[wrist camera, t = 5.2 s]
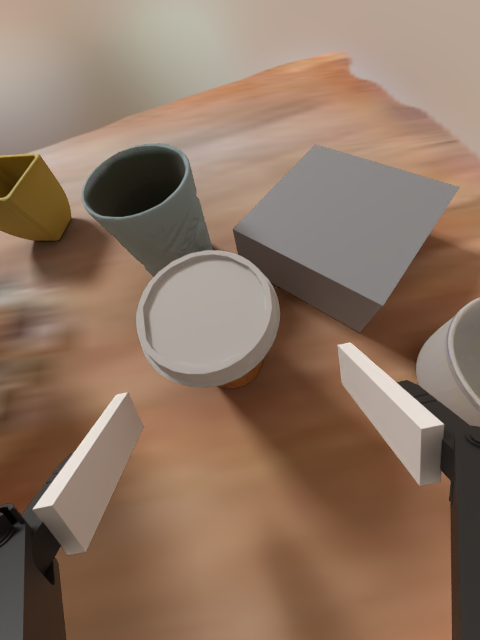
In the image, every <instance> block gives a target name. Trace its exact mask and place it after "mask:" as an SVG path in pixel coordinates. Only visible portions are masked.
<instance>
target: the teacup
mask: <svg viewBox="0 0 480 640" xmlns="http://www.w3.org/2000/svg"><path fill="white" fill-rule="evenodd" d="M416 376H417V381H418V385H419V386H421V387H422V388H423V389H424V390H426V391H427V392H428V393H429V394H430V395H432V396H433V397H435V398H436V399H437V401H440V402H441V403H442V404H443V405H445V406H446V407H447V408H449V409H450V410H451V411H452V412H454V413H455V414H456V415H458V416H459V417H460V418H461V419H463V420H464V421H465V422H466V423H468V424H469V425H471V426H479V427H480V297H479V298H477V299H475V300H473V301H471V302H469V303H468V304H466V305H465V306H464V307H463V308H461V309H460V310H459V311H458V313H457V314H456V315H455V316H454V317H453V318H451V319H450V320H449V321H448V322H446V323H445V324H444V325H443V326H441V327H440V328H439V329H438V330H437V331H436V332H435V333H434V334H433V335H432V336H431V337H429V339H428V340H427V341H426V342H425V344H424V345H423V347H422V348H421V350H420V352H419V355H418V358H417V364H416Z"/></svg>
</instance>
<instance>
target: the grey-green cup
mask: <svg viewBox="0 0 480 640" xmlns="http://www.w3.org/2000/svg"><path fill="white" fill-rule="evenodd" d="M82 202H83V204H84V207H85V209H86V210H87V211H88V213H89V214H90V215H91V216H92V217H93V218H94V219H95V220H96V221H97V222H99V223H100V224H101V225H102V226H103V227H104V228H105V229H106V230H107V231H108V232H109V233H110V234H112V235H113V236H114V237H115V238H116V239H117V240H118V241H119V242H120V244H121V245H122V246H123V247H125V248H126V249H127V250H128V251H129V252H130V253H131V254H132V255H133V256H134V257H135V258H136V259H137V260H138V261H140V262H141V263H142V264H143V265H145V268H146V270H147V271H148V272H149V273H150V274H151V275H152V276H153V277H154V276H155V275H156V274H157V273H158V272H159V271H160V270H162V269H163V268H164V267H166V266H167V265H169V264H170V263H171V262H173V261H174V260H177V259H179V258H181V257H183V256H186V255H188V254H191V253H196V252H201V251H206V250H213V248H212V244H211V241H210V238H209V234H208V231H207V226H206V223H205V221H204V216H203V212H202V208H201V205H200V202H199V199H198V198H197V196H196V187H195V183H194V179H193V175H192V171H191V167H190V163H189V160H188V158H187V157H186V155H185V154H184V153H183V152H182V151H181V150H179V149H178V148H176V147H174V146H171V145H167V144H160V143H158V144H144V145H137V146H134V147H131V148H128V149H126V150H123V151H121V152H119V153H117V154H115V155H113V156H112V157H110V158H108V159H107V160H105V161H104V162H103V163H101V164H100V165H99V166H98V167H97V168H96V169H95V170H94V171H93V172H92V173H91V175H90V176H89V177H88V179H87V181H86V183H85V185H84V187H83V191H82Z"/></svg>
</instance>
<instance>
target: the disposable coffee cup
mask: <svg viewBox="0 0 480 640" xmlns="http://www.w3.org/2000/svg"><path fill="white" fill-rule="evenodd" d="M279 322H280V307H279V301H278V297H277V295H276V292H275V289H274V287H273V286H272V284H271V283H270V281H269V280H268V278H267V277H266V276H265V275H264V274H263V273H262V272H261V271H260V270H259V269H258V268H257V267H256V266H255V265H254V264H253V263H251V262H250V261H249V260H247V259H245V258H244V257H242V256H240V255H237V254H234V253H231V252H226V251H221V250H206V251H201V252H196V253H191V254H188V255H186V256H183V257H181V258H179V259H177V260H174V261H173V262H171V263H170V264H169V265H167V266H166V267H164V268H163V269H162V270H160V271H159V272H158V273H157V274H156V275H155V276H154V278H153V279H152V280H151V281H150V282H149V283H148V285H147V287H146V288H145V290H144V292H143V293H142V296H141V299H140V302H139V305H138V309H137V312H136V327H137V332H138V337H139V339H140V343H141V347H142V350H143V352H144V355H145V357H146V358H147V360H148V361H149V363H150V364H151V365H152V366H153V368H154V369H155V370H156V371H157V372H158V373H160V374H161V375H163V376H164V377H166V378H167V379H169V380H171V381H173V382H176V383H178V384H181V385H184V386H189V387H213V386H222V387H227V388H237V387H241V386H244V385H246V384H248V383H249V382H251V381H252V380H253V379H254V378H255V377H256V376H257V374H258V372H259V371H260V368H261V365H262V362H263V358H264V357H265V355H266V354H267V352H268V351H269V349H270V348H271V346H272V345H273V343H274V340H275V337H276V335H277V331H278V328H279Z"/></svg>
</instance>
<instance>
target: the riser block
mask: <svg viewBox="0 0 480 640" xmlns="http://www.w3.org/2000/svg"><path fill="white" fill-rule="evenodd" d="M458 189H459V187H457V186H454V185H451V184H447V183H444V182H441V181H437V180H434V179H431V178H427V177H424V176H420V175H417V174H414V173H410V172H407V171H404V170H400V169H397V168H394V167H390V166H387V165H383V164H380V163H377V162H373V161H370V160H367V159H363V158H360V157H356V156H353V155H350V154H346V153H343V152H340V151H336V150H333V149H330V148H326V147H323V146H319V145H316V144H315V145H314V146H313V147H312V148H311V149H310V150H309V151H308V152H307V153H306V154H305V155H304V156H303V157H302V158H301V159H300V160H299V162H298V163H297V164H296V165H295V166H294V167H293V168H292V169H291V170H290V171H289V172H288V173H287V174H286V175H285V176H284V177H283V178H282V179H281V180H280V181H279V182H278V183H277V184H276V185H275V186H274V187H273V188H272V189H271V190H270V191H269V192H268V193H267V195H266V196H265V197H264V198H263V199H262V200H261V201H260V202H259V203H258V204H257V205H256V206H255V207H254V208H253V209H252V210H251V211H250V212H249V213H248V214H247V215H246V216H245V217H244V218H243V219H242V220H241V221H240V222H239V223H238V224H237V225H236V226H235V227H234V229H233V232H234V237H235V242H236V246H237V251H238V255H240V256H242V257H244V258H245V259H247V260H249V261H250V262H251V263H253V264H254V265H255V266H256V267H257V268H258V269H259V270H260V271H261V272H262V273H263V274H264V275H265V276H266V277H267V278H268V280H269V281H270V282H271V283H273V284H275V285H277V286H278V287H280V288H282V289H284V290H285V291H287V292H289V293H291V294H292V295H294V296H296V297H298V298H299V299H301V300H303V301H305V302H306V303H308V304H310V305H312V306H313V307H315V308H317V309H319V310H320V311H322V312H324V313H326V314H327V315H329V316H331V317H333V318H334V319H336V320H338V321H340V322H341V323H343V324H345V325H346V326H348V327H350V328H352V329H353V330H355V331H357V332H359V333H360V332H361V331H362V330H363V328H364V327H365V326H366V325H367V324H368V323H369V321H370V320H371V319H372V318H373V317H374V316H375V315H376V313H377V312H378V311H379V310H380V309H381V308H382V306H383V305H384V304H385V302H386V301H387V299H388V297H389V296H390V294H391V293H392V291H393V290H394V288H395V287H396V285H397V283H398V282H399V280H400V279H401V277H402V276H403V274H404V273H405V271H406V270H407V268H408V266H409V265H410V263H411V262H412V260H413V259H414V257H415V256H416V254H417V252H418V251H419V249H420V248H421V246H422V245H423V243H424V242H425V240H426V238H427V237H428V235H429V234H430V232H431V231H432V229H433V228H434V226H435V225H436V223H437V221H438V220H439V218H440V217H441V215H442V214H443V212H444V211H445V209H446V207H447V206H448V204H449V203H450V201H451V200H452V198H453V197H454V195H455V194H456V192H457V190H458Z"/></svg>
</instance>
